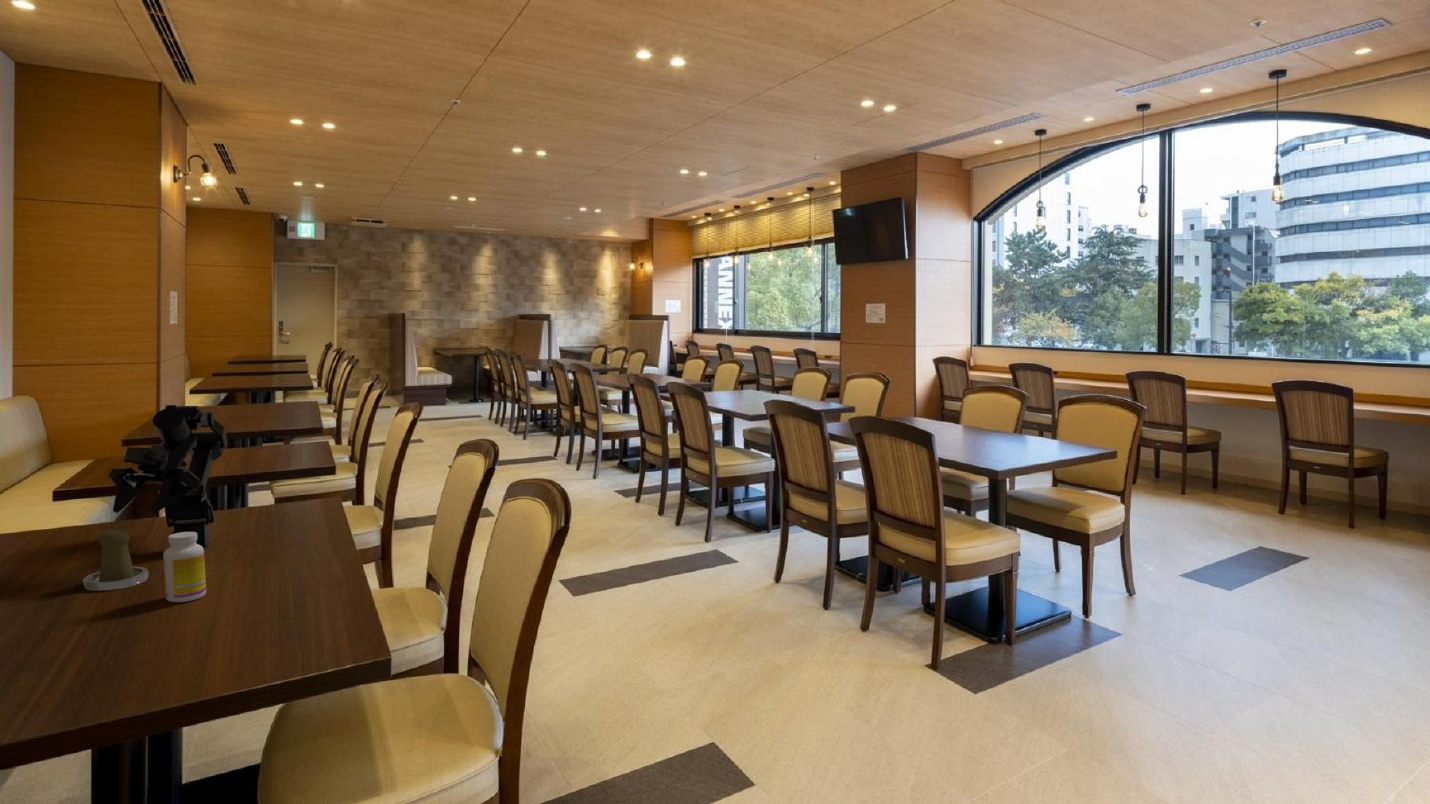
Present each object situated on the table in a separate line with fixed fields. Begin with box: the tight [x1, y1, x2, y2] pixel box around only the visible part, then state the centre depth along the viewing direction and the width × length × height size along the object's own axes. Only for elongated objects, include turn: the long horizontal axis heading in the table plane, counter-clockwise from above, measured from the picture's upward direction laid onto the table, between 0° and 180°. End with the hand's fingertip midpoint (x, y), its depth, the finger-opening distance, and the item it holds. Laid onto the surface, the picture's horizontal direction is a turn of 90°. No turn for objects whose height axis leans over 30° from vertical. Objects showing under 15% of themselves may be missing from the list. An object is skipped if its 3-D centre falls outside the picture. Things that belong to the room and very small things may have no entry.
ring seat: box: [82, 566, 149, 592], centre depth 160 cm, size 10×10×2 cm
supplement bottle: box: [162, 532, 207, 603], centre depth 151 cm, size 7×7×13 cm
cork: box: [98, 527, 135, 582], centre depth 160 cm, size 6×6×11 cm
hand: (133, 512), depth 165 cm, fingers open, 9 cm apart
